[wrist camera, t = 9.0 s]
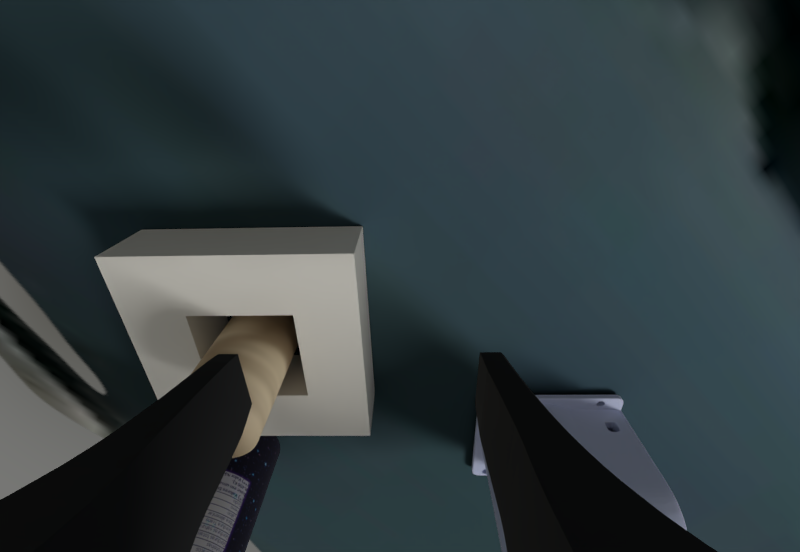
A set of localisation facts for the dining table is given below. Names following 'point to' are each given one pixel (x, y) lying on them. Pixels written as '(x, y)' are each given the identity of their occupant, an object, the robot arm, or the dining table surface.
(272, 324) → the beech peg
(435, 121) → the dining table surface
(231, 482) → the beverage can
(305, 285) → the socket block
